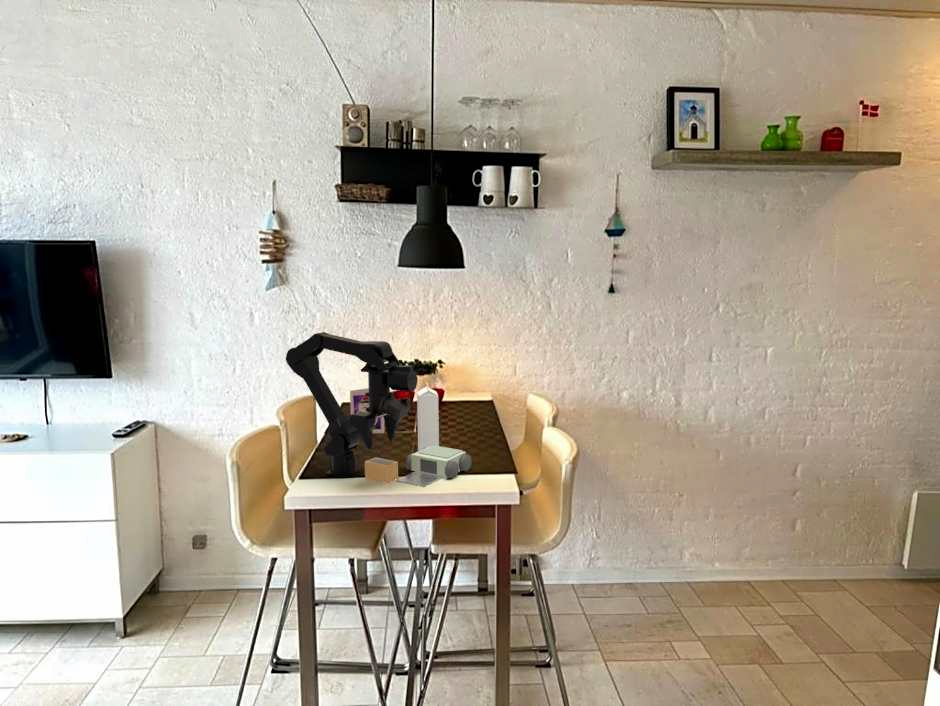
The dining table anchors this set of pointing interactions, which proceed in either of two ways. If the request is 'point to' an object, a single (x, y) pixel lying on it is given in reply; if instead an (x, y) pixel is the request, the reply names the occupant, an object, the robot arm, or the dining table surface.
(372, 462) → the block
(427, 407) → the milk
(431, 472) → the mower deck
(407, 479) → the mounting plate
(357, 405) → the greeting card
